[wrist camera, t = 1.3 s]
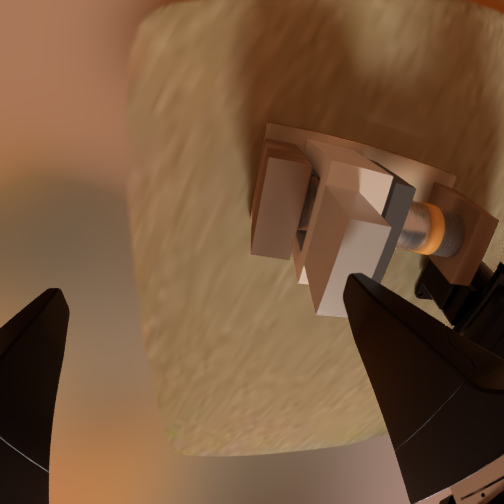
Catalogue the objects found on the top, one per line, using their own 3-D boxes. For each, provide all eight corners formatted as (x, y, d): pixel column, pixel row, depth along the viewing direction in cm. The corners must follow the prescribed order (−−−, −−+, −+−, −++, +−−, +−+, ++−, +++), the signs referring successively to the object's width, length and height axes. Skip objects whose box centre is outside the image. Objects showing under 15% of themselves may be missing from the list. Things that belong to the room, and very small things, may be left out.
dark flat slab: (375, 161, 17) (416, 188, 12) (352, 238, 20) (379, 285, 15) (359, 156, 17) (396, 182, 12) (336, 235, 20) (360, 283, 15)
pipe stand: (449, 173, 19) (504, 206, 13) (422, 248, 23) (462, 297, 17) (266, 122, 18) (272, 135, 12) (249, 217, 22) (247, 270, 16)
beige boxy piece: (352, 149, 17) (433, 206, 9) (329, 236, 20) (372, 339, 12) (307, 138, 17) (358, 186, 9) (287, 229, 20) (308, 334, 12)
